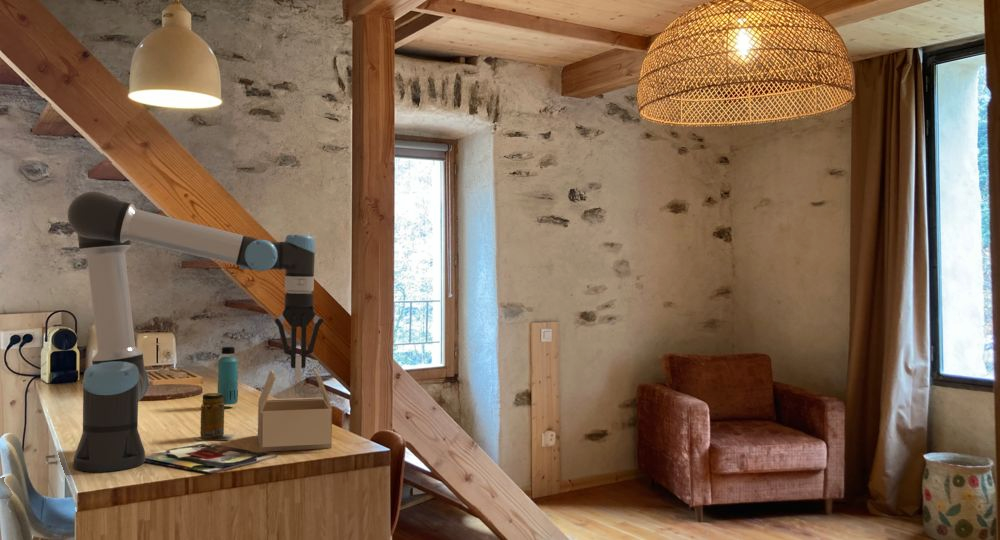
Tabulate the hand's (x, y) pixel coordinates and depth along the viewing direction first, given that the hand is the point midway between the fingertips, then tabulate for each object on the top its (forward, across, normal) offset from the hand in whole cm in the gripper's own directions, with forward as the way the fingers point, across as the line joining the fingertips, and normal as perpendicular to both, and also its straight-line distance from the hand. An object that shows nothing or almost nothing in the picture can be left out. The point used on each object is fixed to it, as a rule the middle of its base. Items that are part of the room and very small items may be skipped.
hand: (297, 380), depth 210 cm
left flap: (+7, -10, 0) cm, 12 cm away
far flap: (+7, -1, +8) cm, 11 cm away
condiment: (+17, -21, +11) cm, 29 cm away
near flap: (+7, -1, -8) cm, 11 cm away
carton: (+17, -1, 0) cm, 17 cm away
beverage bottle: (+17, -18, +56) cm, 61 cm away
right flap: (+7, +8, 0) cm, 10 cm away
